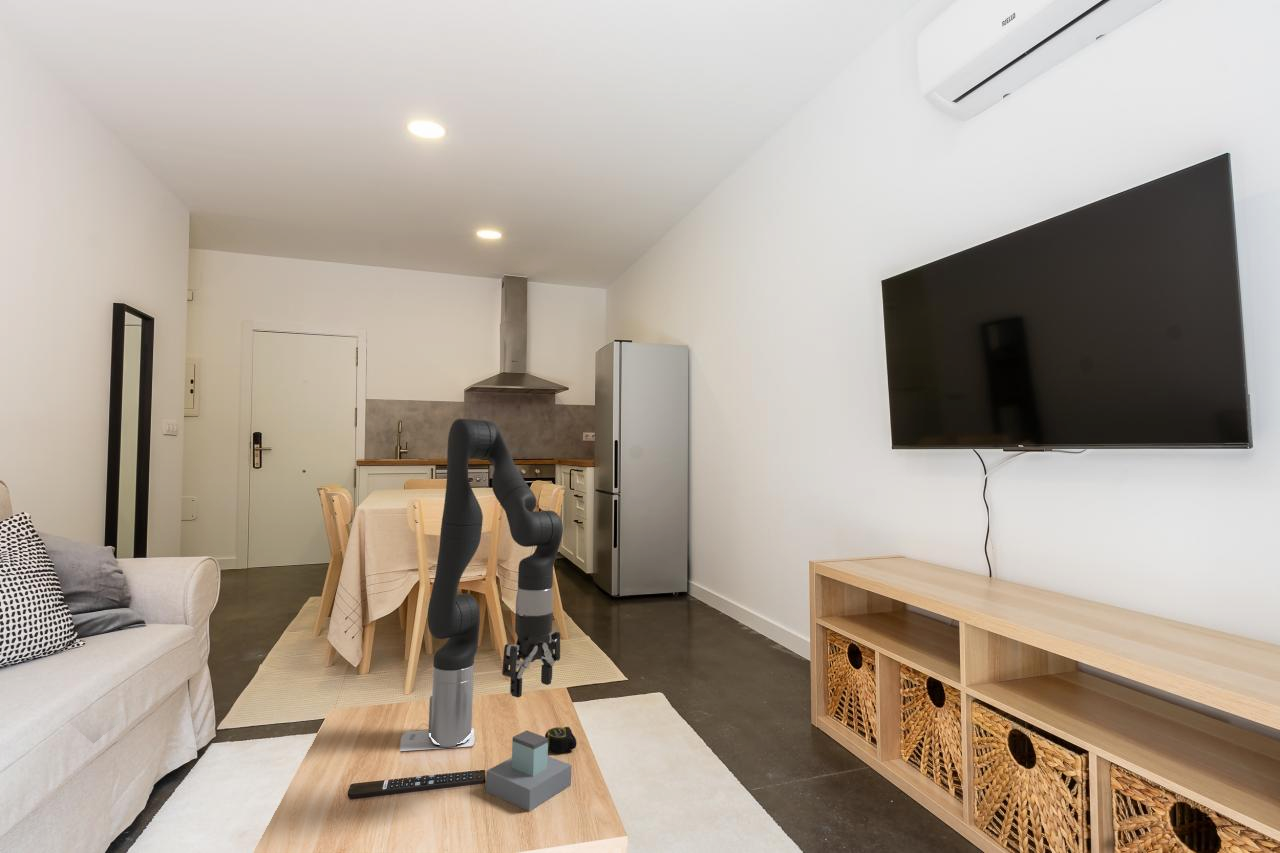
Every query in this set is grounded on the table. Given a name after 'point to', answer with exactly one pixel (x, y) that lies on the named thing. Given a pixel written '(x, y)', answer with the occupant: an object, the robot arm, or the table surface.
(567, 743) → the tape measure
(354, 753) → the table surface
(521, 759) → the block
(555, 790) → the stand
